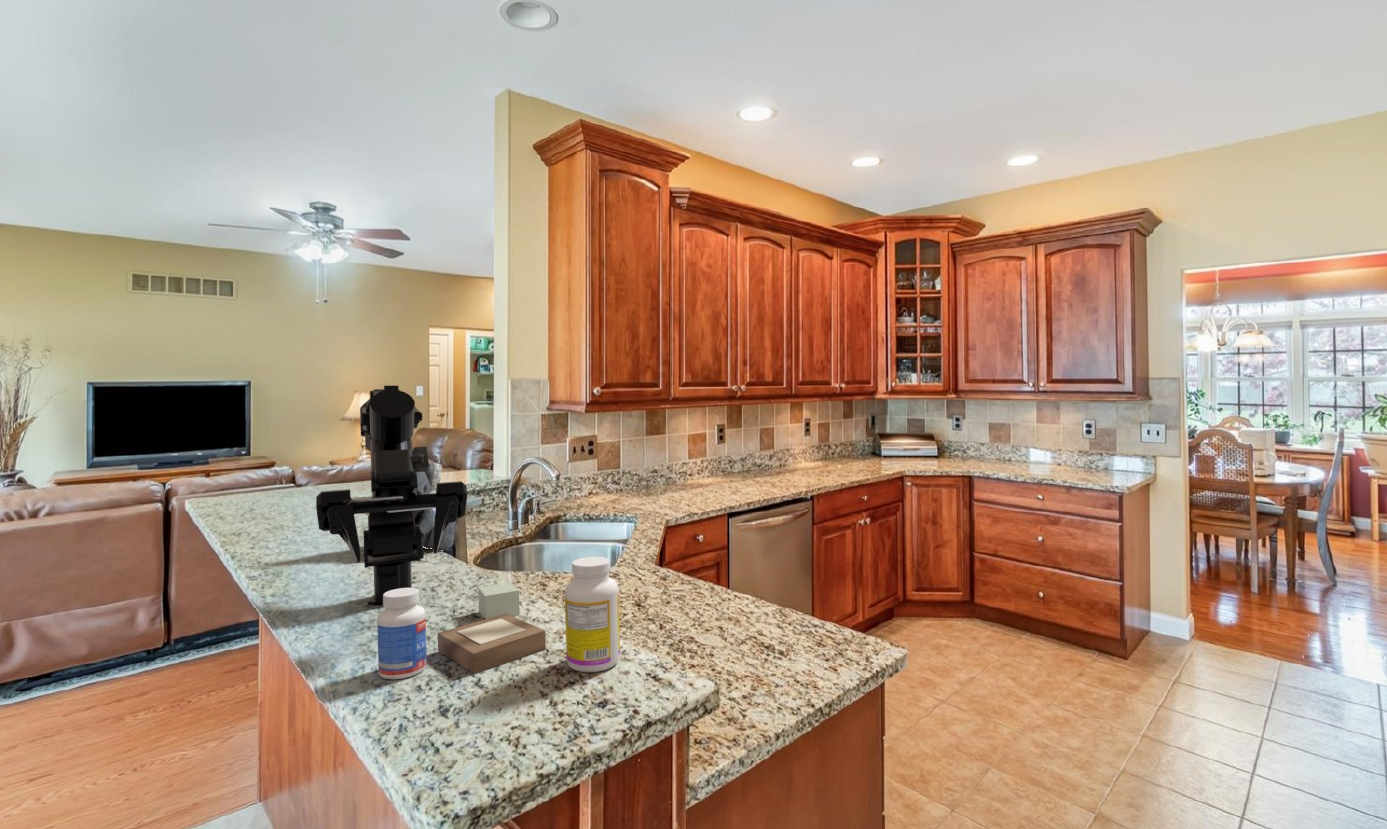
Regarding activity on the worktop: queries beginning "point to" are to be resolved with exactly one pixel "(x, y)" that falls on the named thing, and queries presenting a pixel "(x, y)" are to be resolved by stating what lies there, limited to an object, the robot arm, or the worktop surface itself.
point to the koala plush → (427, 516)
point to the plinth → (491, 642)
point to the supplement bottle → (592, 616)
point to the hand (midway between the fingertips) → (398, 556)
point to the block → (498, 600)
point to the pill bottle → (401, 635)
